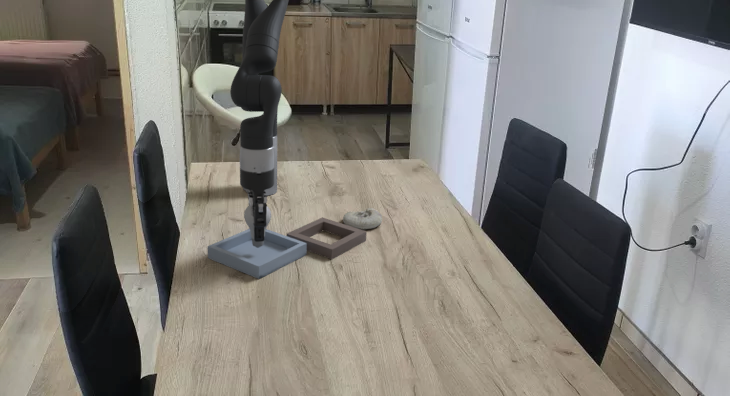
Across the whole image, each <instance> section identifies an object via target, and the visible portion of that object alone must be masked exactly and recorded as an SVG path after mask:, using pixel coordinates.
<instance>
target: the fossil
mask: <svg viewBox="0 0 730 396" xmlns="http://www.w3.org/2000/svg"><path fill="white" fill-rule="evenodd" d="M342 221H343V224H345V225H348V226H351V227H354V228H357V229H360V230H370V229H375V228H376V227H379V226H380V225H381V224H382V222H383V216H382V214H381V212H379V210H377V209H376V208H373V207H368V208H366V209H365V210H362V211H347V212H346V213H345V214H343V218H342Z"/></svg>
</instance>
